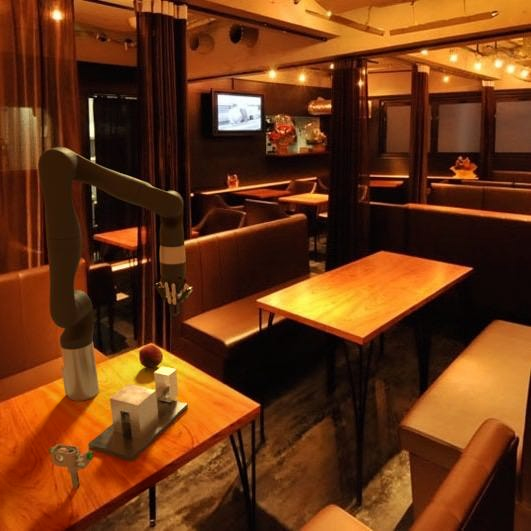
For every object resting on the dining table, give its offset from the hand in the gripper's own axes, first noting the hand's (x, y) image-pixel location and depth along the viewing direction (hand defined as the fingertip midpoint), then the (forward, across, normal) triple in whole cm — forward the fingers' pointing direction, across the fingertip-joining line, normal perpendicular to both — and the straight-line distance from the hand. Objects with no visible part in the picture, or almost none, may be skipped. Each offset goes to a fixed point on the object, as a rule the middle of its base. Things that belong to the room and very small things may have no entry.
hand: (174, 314), depth 152 cm
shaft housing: (+26, +2, -21) cm, 33 cm away
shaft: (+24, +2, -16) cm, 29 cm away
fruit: (+25, -16, +8) cm, 31 cm away
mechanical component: (+27, +3, -46) cm, 53 cm away
